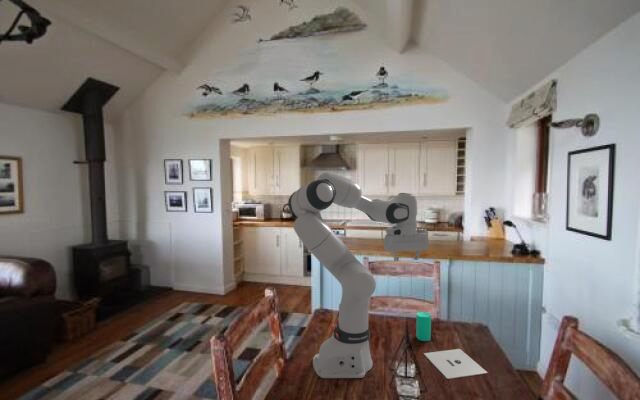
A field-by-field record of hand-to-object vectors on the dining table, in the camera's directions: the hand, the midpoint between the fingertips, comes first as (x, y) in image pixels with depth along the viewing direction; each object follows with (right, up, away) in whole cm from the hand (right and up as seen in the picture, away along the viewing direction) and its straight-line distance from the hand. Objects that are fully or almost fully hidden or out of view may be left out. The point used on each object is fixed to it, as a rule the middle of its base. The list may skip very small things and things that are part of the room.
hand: (406, 260), depth 141 cm
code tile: (+12, -35, -22) cm, 43 cm away
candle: (+7, -34, -3) cm, 34 cm away
